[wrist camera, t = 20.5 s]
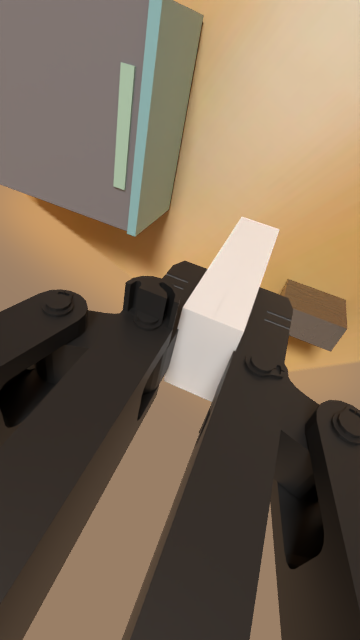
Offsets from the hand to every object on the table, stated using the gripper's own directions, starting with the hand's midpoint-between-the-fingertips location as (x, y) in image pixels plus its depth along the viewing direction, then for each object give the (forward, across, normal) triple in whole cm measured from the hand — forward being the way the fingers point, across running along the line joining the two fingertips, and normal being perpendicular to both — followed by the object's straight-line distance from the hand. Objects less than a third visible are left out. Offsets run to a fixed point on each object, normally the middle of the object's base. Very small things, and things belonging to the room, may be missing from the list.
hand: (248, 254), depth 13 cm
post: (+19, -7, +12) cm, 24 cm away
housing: (+19, +20, 0) cm, 28 cm away
